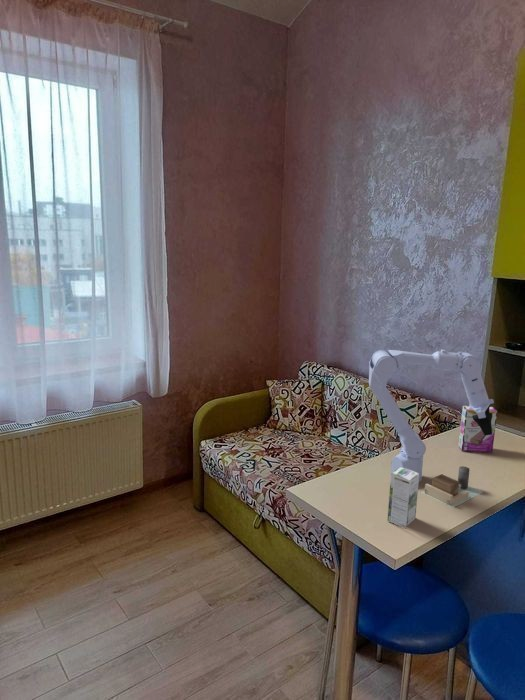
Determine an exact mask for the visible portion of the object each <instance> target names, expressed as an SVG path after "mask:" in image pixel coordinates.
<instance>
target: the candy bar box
mask: <svg viewBox="0 0 525 700" xmlns="http://www.w3.org/2000/svg"><path fill="white" fill-rule="evenodd" d="M489 413H492V420H491V426H492V435H486V436H485V435H484V433H483V432H482V430H481V428H480V426H479V425H478V424H477V423H476V422H475V421H474V420H473V417H472V416H473V415H478V414H477V413H476V412H475V411H474V410H472V409H471V408H470V406H469V405H462V408H461V416H460V417H461V418H460V419H461V420H460V427H459V438H458V445H457V446H458V448H459V449H460V451H461V452H471V453H473V452H475V453H493V448H494V443H495V441H494V440H495V435H496V434H495V433H496V425H497V416H498V411H497V409H495V407H493V406H490V408H489Z"/></svg>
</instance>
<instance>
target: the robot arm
mask: <svg viewBox="0 0 525 700" xmlns="http://www.w3.org/2000/svg"><path fill="white" fill-rule="evenodd" d="M368 364H369V365H368V366H369V370H368V385H369V389H370V390H371V391H372V394H373V395H374V397H375V399H376V400H377V401H378V403H379V404H380V406H381V408H382V409H383V411H384V413H385V415H386V416H387V417H388V419H389V421H390V423H391V424H392V427H393V428H394V429H395V432H396V433H397V435H398V436H399V443H400V444H401V445H402V446H401V449H400V450H399V453H398V454H397V455H395V456H393V457H392V459H391V466H390V475H391V474H392V473H394V472H395V471H396V470H398V469H399V468H400V467H401V468H406V469H409V470H412V471H414V472H416V473H419V483H420V482H421V481H422V479H423V467H424V466H423V465H424V455H425V453H426V451H427V448H426V444H425V442H424V441H423V440H422V438H420V435H419V433H418V432H417V431H416V430H414V429H413V428H412V427H411V426H410V423H409V422H408V420H407V419H406V417H405V416H404V413H403V412H402V410H401V409H400V407H399V406H398V404H397V401H396V400H395V399H394V397H393V396H392V394H391V392H390V390H389V389H388V387H387V384H388V382H389V379H390V378H391V377H392V376H393V374H394V373H395V372H396V370H397V369H398V370H400V369H402V368H403V367H405V365H415V366H416V365H419V366H431V367H432V368H433V369H434V370H437V371H448V372H459V374H460V376H461V382H462V385H463V387H464V391H465V394H466V397H467V400H468V404H469V405H468V406H470V408H471V409H472V410H474V411H475V412H476V413H477V414H478V415H473V416H472V417H473V420H474V421H475V422H476V423H477V424H478V425H479V426H480V428H481V430H482V432H483V433H484V435H485V436H486V435H492V426H491V420H492V413H489V408H490V407H491V404H494V403H495V402H494V399H493V398H489V396H488V392H487V390H486V386H485V384H484V383H485V382H484V380H483V377H482V374H481V370H480V368H481V362H480V361H479V359H478V358H477V357H476V356H475V355H473V354H471V353H469V352H466V351H457V352H453V351H452V352H449V351H447V350H446V349H440V351H439V350H438V351H435V352H433V353H431V354H429V353H428V354H427V353H422V352H421V353H420V352H412V351H405V350H395V349H388V350H386V349H379V350H376V351H375V352H374V353H373V354H372V356H371V358H370V360H369V362H368Z"/></svg>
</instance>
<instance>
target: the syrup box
mask: <svg viewBox="0 0 525 700" xmlns="http://www.w3.org/2000/svg"><path fill="white" fill-rule="evenodd" d="M419 483H420V482H419V473H416V472H414V471H412V470H409V469H406V468H401V467H400V468H399V469H398V470H396V471H395V472H394V473H392V474H391V473H390V482H389V495H388V508H387V522H388V521H389V522H388V523H390V522H391V524H393V523H394V525H396V526H399V527H402V528H404V529H406V527H408V526H409V525H410V524H411V523H413V521H414V520H415V519H416V513H417V504H418V503H417V502H418V493H419Z"/></svg>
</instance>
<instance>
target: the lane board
mask: <svg viewBox="0 0 525 700" xmlns="http://www.w3.org/2000/svg"><path fill="white" fill-rule="evenodd" d="M453 479H454V480H456V479H455V478H453ZM420 493H421V494H422V495H425V496H427V497H428V498H430V499H433V500H435V501H437V502H438V503H441V504H442V505H445V506H447V507H449V508H451V509H454V508H455V507H457V506H460V505H461V504H463V503H466V502H467V501H468V500H471V499H474V498H475V497H477V496H478V495H482V494H483V493H484V491H482V490H480V489H477V488H475V487H473V486H472V485H471V486H470V485H469V484H468V488H466V489H463V488H459V491H458V495H456V496H454V497H453V495H451V494H449V493H447V492H445V491H442V490H440V489H438V488H436V487H434V486H432V484H430V483H425V484H424V490H423V491H421V492H420Z"/></svg>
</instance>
